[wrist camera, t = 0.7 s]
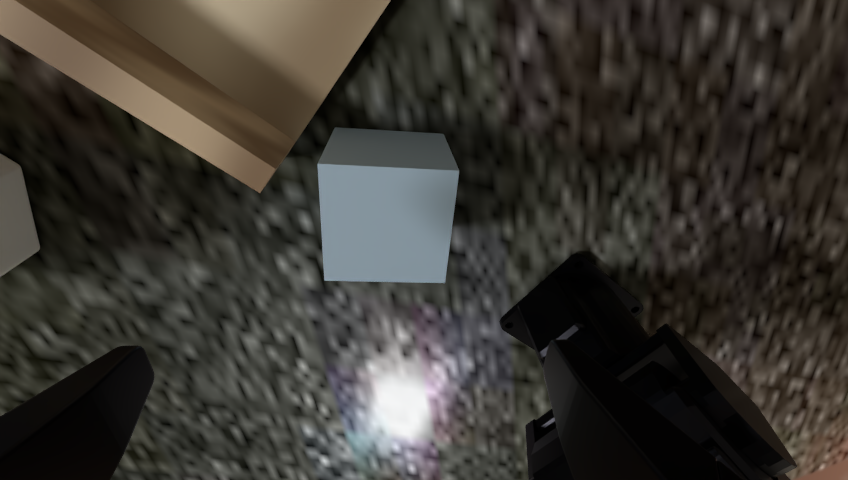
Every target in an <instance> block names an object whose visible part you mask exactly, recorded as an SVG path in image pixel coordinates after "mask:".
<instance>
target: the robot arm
mask: <svg viewBox="0 0 848 480" xmlns="http://www.w3.org/2000/svg"><path fill="white" fill-rule="evenodd" d="M578 261H580V263H579V264H577V265H575V263H576V262H578ZM633 307H634V308H633ZM642 310H643V305H642V304H641V303H640V302H639V301H638V300H637V299H636V298H635V297H634V296H632V295H631V294H630V293H629V292H627V291H626V290H625V289H624V288H623V287H621V286H620V285H619V284H618V283H616V282H615V281H614V280H613V279H612V278H610V277H609V276H608V275H607V274H605V273H604V272H603V271H602V270H601V269H599V268H598V267H597V266H596V265H594V264H593V263H592V262H591V261H589V260H588V259H587V258H586V257H585V256H583V255H582V254H574V255H572V256H571V257H570V258H568V259H567V260H566V261H565V262H564V263H563V264H562V265H561V266H559V267H558V268H557V269H556V270H555V271H554V272H553V273H551V274H550V275H549V276H548V277H547V278H546V279H545V280H544V281H542V282H541V283H540V284H539V285H538V286H537V287H536V288H535V289H533V290H532V291H531V292H530V293H529V294H528V295H527V296H525V297H524V298H523V299H522V300H521V301H520V302H519V303H518V304H516V305H515V306H514V307H513V308H512V309H511V310H510V311H508V312H507V313H506V314H505V315H504V316H503V317H502V318H501V319H500V325H501V328H502V329H503V330H504V331H505V332H507V333H509V334H510V335H512V336H513V337H515V338H516V339H518V340H520V341H521V342H523V343H524V344H526V345H528V346H529V347H531V348H532V349H534V350H535V351H536V354H537V356H538V358H539V361H540V363H541V365H542V368H543V370H544V377H545V381H546V385H547V389H548V393H549V398H550V402H551V406H552V409H551V410H549V411H548V412H547V413H545V414H544V415H543V416H541V417H540V418H538V419H537V420H535V419H534V420H532V421H531V422H530V423H528V424H527V425H526V441H527V458H528V475H529V480H790V479H789V478H788V477H787V476H786V474H785V473H787V472H789V471H791V470H792V469H794V468H796V467H797V465H796V463H795V461H794V460H793V458H792V457H791V455H790V454H789V452H788V451H787V449H786V448H785V446H784V445H783V444H782V442H781V441H780V439H779V438H778V436H777V435H776V433H775V432H774V430H773V429H772V427H771V426H770V424H769V423H768V421H767V420H766V419H765V417H764V416H763V414H762V413H761V411H760V410H759V408H758V407H757V406H756V404H755V403H754V402H753V401H752V400H751V399H750V398H749V397H748V396H747V395H746V394H745V393H744V392H743V391H742V390H741V389H740V388H739V387H738V386H737V385H736V384H735V383H734V382H733V381H732V380H731V379H730V377H729V376H728V375H727V374H726V373H725V372H724V371H723V370H722V369H721V368H720V367H719V366H718V365H717V364H716V363H714V362H713V361H712V360H711V359H709V358H708V357H707V356H706V355H705V354H703V353H702V352H701V351H700V350H698V349H697V348H696V347H695V346H694V345H692V344H691V343H690V342H689V341H687V340H686V339H685V338H684V337H683V336H681V335H680V334H679V333H678V332H676V331H675V330H674V329H673V328H672V327H670V326H669V325H668V324H667V323H666V324H665V325H663V326H662V327H660V328H659V329H658V330H656V331H657V333H656V334H655V335H653V336H652V337H650V336H649V335H648V334H647V333H646V331H645V330H644V329H643V327H642V326H641V325H640V324H639V322H638V321H637V320H636V319H635V317H636V316H637V315H638V314H640V313H641V312H642ZM508 322H511V323H509V324H506V323H508ZM153 382H154V371H153V369H152V366H151V364H150V362H149V359H148V357H147V355H146V352H145V350H144V349H143V348H142V347H141V346H120V347H117V348H115V349H113V350H112V351H110V352H108V353H107V354H105V355H103V356H102V357H100V358H98V359H97V360H95V361H93V362H91V363H90V364H88V365H86V366H85V367H83V368H81V369H80V370H78V371H76V372H75V373H73V374H71V375H70V376H68V377H66V378H64V379H63V380H61V381H59V382H58V383H56V384H54V385H53V386H51V387H49V388H48V389H46V390H44V391H42V392H41V393H39V394H37V395H36V396H34V397H32V398H31V399H29V400H27V401H26V402H24V403H22V404H20V405H19V406H17V407H15V408H14V409H12V410H10V411H9V412H7V413H5V414H4V415H2V416H0V480H110V479H111V477H112V475H113V473H114V471H115V470H116V468H117V466H118V464H119V462H120V460H121V458H122V456H123V454H124V452H125V450H126V447H127V445H128V443H129V441H130V438H131V436H132V433H133V431H134V428H135V426H136V424H137V421H138V419H139V416H140V414H141V412H142V409H143V407H144V404H145V402H146V399H147V397H148V395H149V392H150V390H151V387H152V385H153Z"/></svg>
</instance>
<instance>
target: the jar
mask: <svg viewBox="0 0 848 480" xmlns="http://www.w3.org/2000/svg"><path fill="white" fill-rule="evenodd" d="M39 250H40V244H39V239H38V235H37V231H36V227H35V223H34V218H33V214H32V210H31V206H30V202H29V197H28V193H27V189H26V185H25V180H24V176H23V172H22V168H21V166H20V165H19V164H18V163H16V162H14V161H12V160H11V159H9V158H7V157H6V156H4V155H2V154H1V153H0V277H1V276H3V275H4V274H6V273H7V272H9V271H10V270H11V269H13V268H14V267H16V266H17V265H19V264H20V263H22V262H23V261H25V260H26V259H28V258H29V257H31V256H32V255H33V254H35V253H36V252H38V251H39Z"/></svg>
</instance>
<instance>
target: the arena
mask: <svg viewBox="0 0 848 480" xmlns="http://www.w3.org/2000/svg"><path fill="white" fill-rule="evenodd" d="M390 1H391V0H0V34H1V35H2V36H4V37H6V38H7V39H9V40H10V41H12V42H14V43H15V44H17V45H19V46H20V47H22V48H24V49H25V50H27V51H28V52H30V53H32V54H33V55H35V56H37V57H38V58H40V59H42V60H43V61H45V62H46V63H48V64H50V65H51V66H53V67H55V68H56V69H58V70H60V71H61V72H63V73H64V74H66V75H68V76H69V77H71V78H73V79H74V80H76V81H78V82H79V83H81V84H82V85H84V86H86V87H87V88H89V89H91V90H92V91H94V92H95V93H97V94H99V95H100V96H102V97H104V98H105V99H107V100H109V101H110V102H112V103H113V104H115V105H117V106H118V107H120V108H122V109H123V110H125V111H127V112H128V113H130V114H131V115H133V116H135V117H136V118H138V119H140V120H141V121H143V122H145V123H146V124H148V125H149V126H151V127H153V128H154V129H156V130H158V131H159V132H161V133H162V134H164V135H166V136H167V137H169V138H171V139H172V140H174V141H176V142H177V143H179V144H180V145H182V146H184V147H185V148H187V149H189V150H190V151H192V152H194V153H195V154H197V155H198V156H200V157H202V158H203V159H205V160H207V161H208V162H210V163H212V164H213V165H215V166H216V167H218V168H220V169H221V170H223V171H225V172H226V173H228V174H230V175H231V176H233V177H234V178H236V179H238V180H239V181H241V182H243V183H244V184H246V185H247V186H249V187H251V188H252V189H254V190H256V191H257V192H259V193H260V192H261V191H262V190H263V188H264V187H265V185H266V184H267V183H268V181H269V180H270V178H271V177H272V176H273V174H274V173H275V171H276V170H277V169H278V167H279V166H280V164H281V163H282V162H283V160H284V159H285V157H286V156H287V154H288V153H289V151H290V150H291V149H292V147H293V146H294V144H295V143H296V141H297V140H298V138H299V137H300V135H301V134H302V132H303V131H304V129H305V128H306V126H307V125H308V123H309V122H310V120H311V119H312V117H313V116H314V114H315V113H316V111H317V110H318V108H319V107H320V105H321V104H322V102H323V101H324V99H325V98H326V96H327V95H328V93H329V92H330V90H331V89H332V87H333V86H334V84H335V83H336V81H337V80H338V78H339V77H340V75H341V74H342V72H343V71H344V69H345V68H346V66H347V65H348V63H349V62H350V60H351V59H352V57H353V56H354V55H355V53H356V52H357V50H358V49H359V47H360V46H361V44H362V43H363V41H364V40H365V38H366V37H367V35H368V34H369V32H370V31H371V29H372V28H373V26H374V25H375V23H376V22H377V20H378V19H379V17H380V16H381V14H382V13H383V11H384V10H385V8H386V7H387V5H388V4H389V2H390Z"/></svg>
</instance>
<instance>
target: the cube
mask: <svg viewBox="0 0 848 480" xmlns="http://www.w3.org/2000/svg"><path fill="white" fill-rule="evenodd" d="M458 177H459V169H458V166H457V164H456V162H455V159H454V157H453V155H452V152H451V150H450V148H449V145H448V143H447V141H446V138H445V136H444V134H439V133H422V132H405V131H389V130H372V129H355V128H338V127H335V128H334V130H333V132H332V134H331V136H330V139H329V141H328V143H327V145H326V147H325V149H324V151H323V153H322V155H321V158H320V160H319V162H318V179H319V196H320V213H321V230H322V247H323V264H324V281H369V282H419V283H445V278H446V270H447V262H448V255H449V247H450V239H451V232H452V224H453V216H454V208H455V201H456V193H457V185H458Z"/></svg>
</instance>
